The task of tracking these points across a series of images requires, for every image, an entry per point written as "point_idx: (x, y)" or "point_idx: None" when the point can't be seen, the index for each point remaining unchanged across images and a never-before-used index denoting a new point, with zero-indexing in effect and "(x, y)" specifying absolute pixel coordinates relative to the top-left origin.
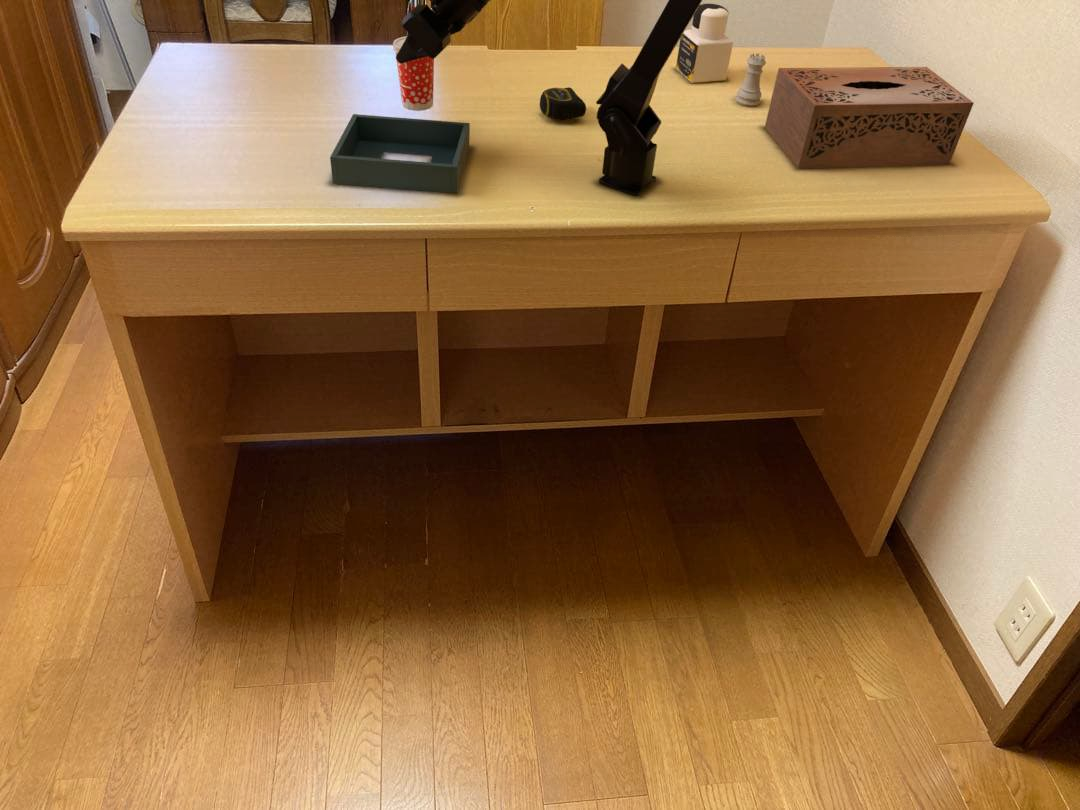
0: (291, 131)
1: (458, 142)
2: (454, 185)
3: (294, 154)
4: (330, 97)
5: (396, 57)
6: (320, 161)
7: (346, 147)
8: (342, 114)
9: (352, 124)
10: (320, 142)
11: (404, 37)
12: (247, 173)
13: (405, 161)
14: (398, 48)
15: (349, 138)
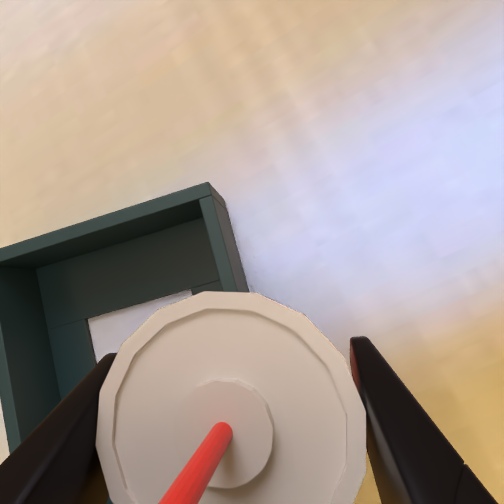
0: (200, 57)
1: None
2: None
3: (109, 125)
4: (413, 22)
5: (103, 360)
6: (101, 188)
7: (84, 242)
8: (333, 102)
9: (148, 213)
10: (178, 140)
11: (289, 325)
12: (10, 96)
13: (14, 433)
14: (111, 369)
15: (113, 231)
